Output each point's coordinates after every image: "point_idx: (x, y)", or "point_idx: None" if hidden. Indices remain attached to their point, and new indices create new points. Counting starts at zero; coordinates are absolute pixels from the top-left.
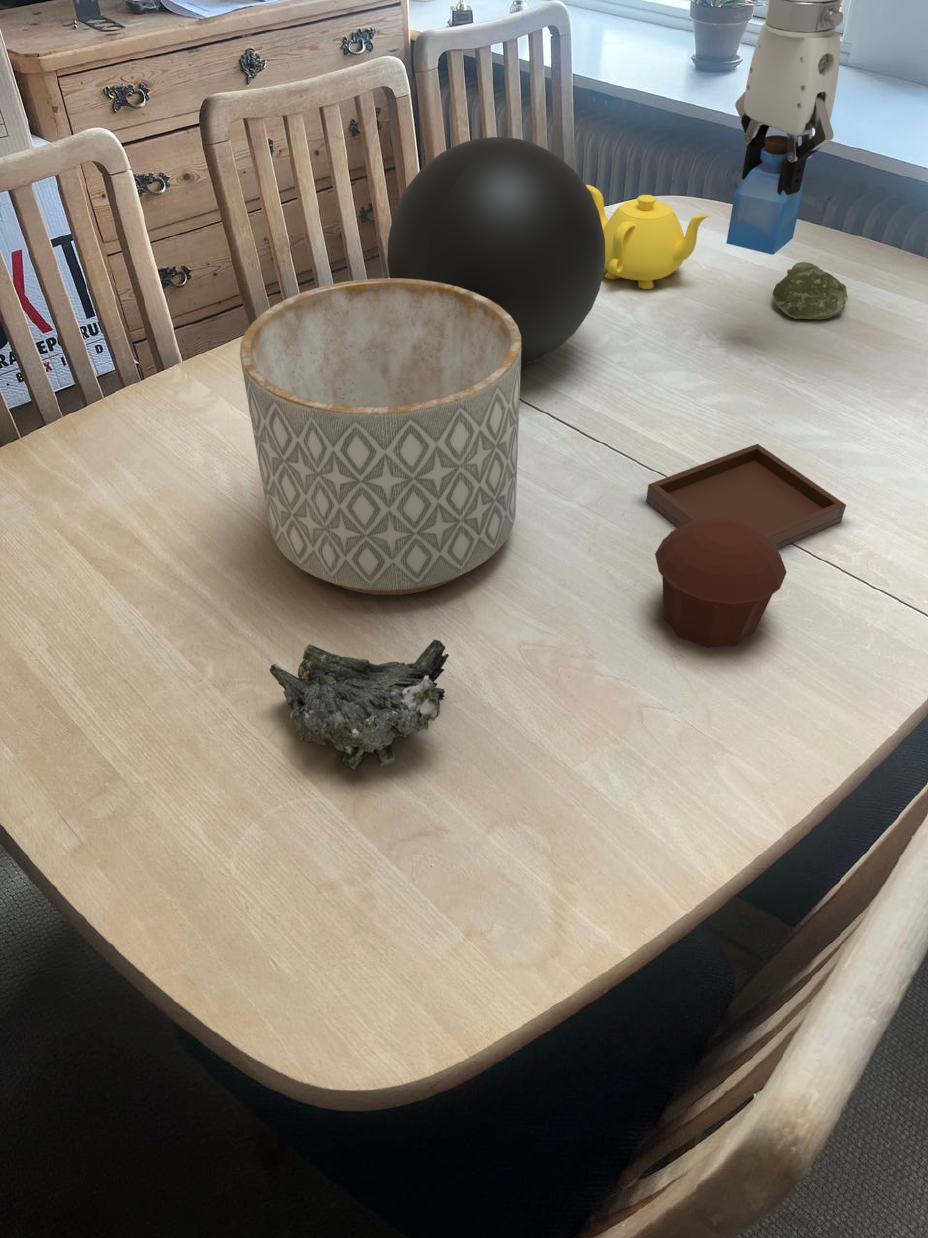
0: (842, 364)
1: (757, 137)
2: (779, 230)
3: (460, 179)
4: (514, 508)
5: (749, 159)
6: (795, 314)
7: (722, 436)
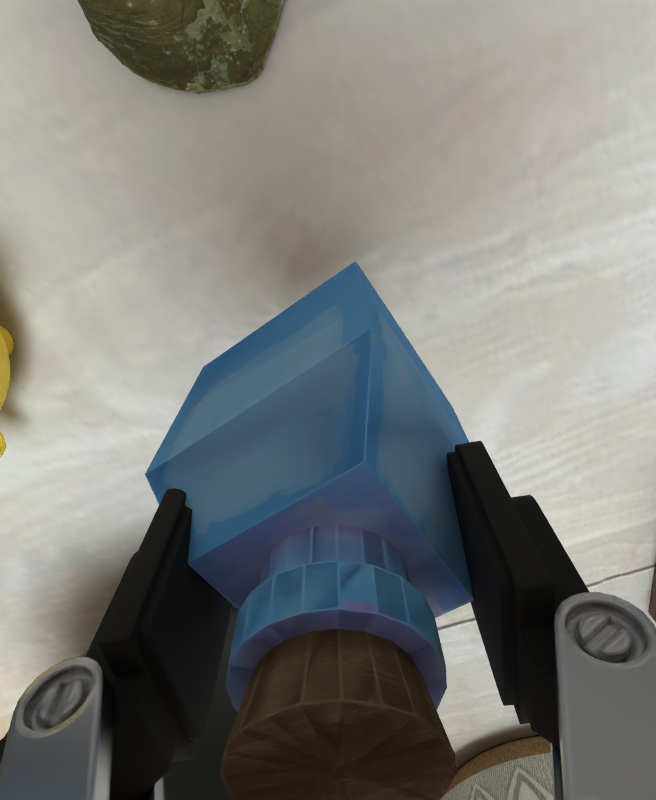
0: (506, 91)
1: (145, 772)
2: (465, 439)
3: None
4: None
5: (216, 675)
6: (254, 67)
7: (588, 471)
